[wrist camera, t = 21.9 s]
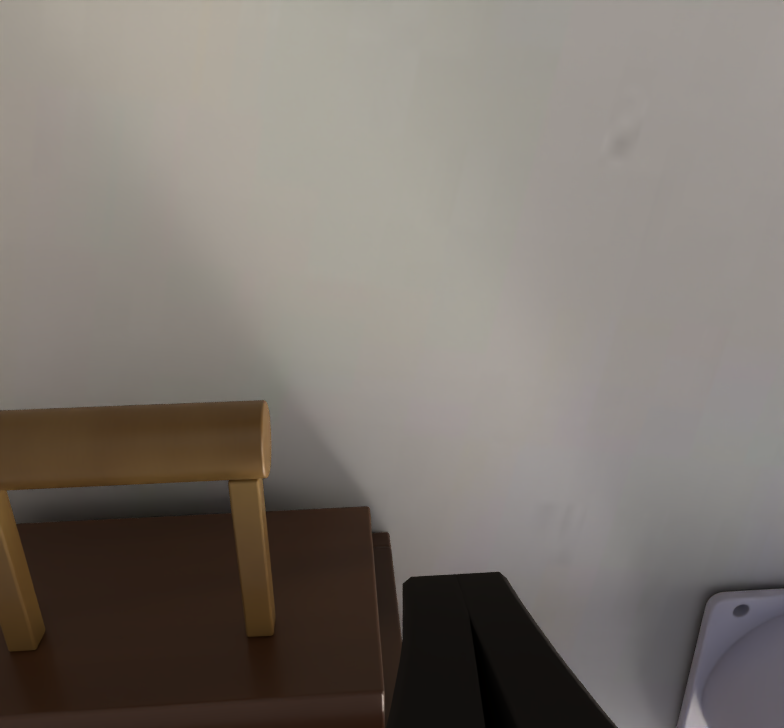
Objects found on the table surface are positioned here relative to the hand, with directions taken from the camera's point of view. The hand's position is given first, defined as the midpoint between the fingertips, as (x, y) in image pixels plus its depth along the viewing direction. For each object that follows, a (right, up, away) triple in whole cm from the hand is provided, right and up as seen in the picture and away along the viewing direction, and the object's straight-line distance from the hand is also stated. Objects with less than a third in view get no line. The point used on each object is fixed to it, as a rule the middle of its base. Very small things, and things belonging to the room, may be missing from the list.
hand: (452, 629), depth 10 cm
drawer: (-7, -4, +11) cm, 13 cm away
